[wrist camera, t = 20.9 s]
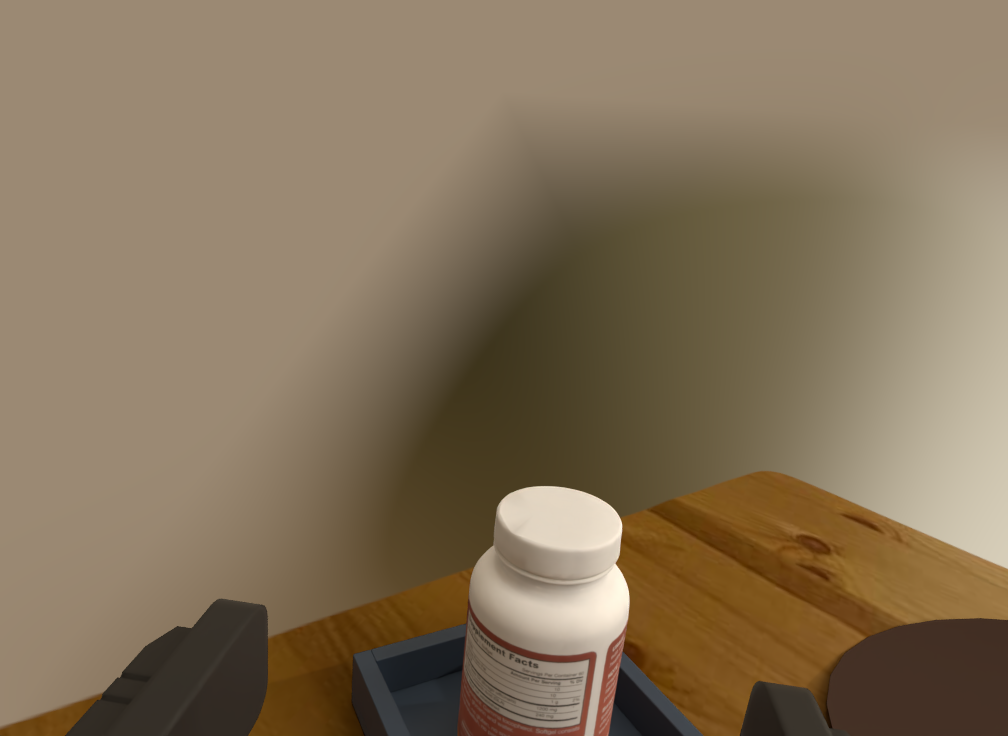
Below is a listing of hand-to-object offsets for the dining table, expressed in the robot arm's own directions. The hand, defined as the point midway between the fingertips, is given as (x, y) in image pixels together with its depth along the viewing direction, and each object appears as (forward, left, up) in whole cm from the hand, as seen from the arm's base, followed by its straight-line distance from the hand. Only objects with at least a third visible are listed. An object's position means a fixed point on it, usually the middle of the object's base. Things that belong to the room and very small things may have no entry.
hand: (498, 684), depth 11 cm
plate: (+31, -5, -16) cm, 35 cm away
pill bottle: (+8, +10, -15) cm, 20 cm away
